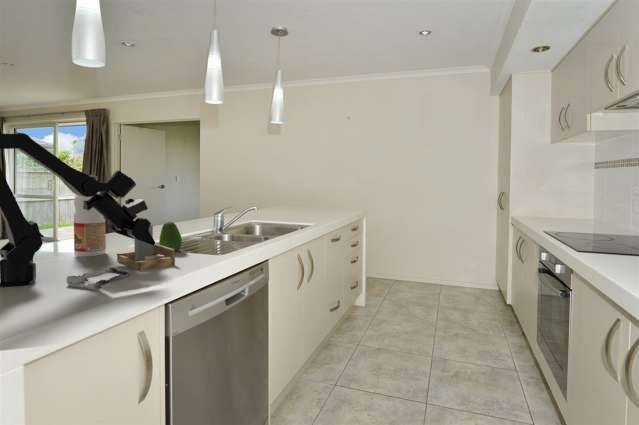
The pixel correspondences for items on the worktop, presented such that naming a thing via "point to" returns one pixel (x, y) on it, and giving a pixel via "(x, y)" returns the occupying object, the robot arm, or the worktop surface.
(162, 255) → the offcut
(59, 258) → the worktop surface
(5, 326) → the worktop surface
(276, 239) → the worktop surface
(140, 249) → the grey rectangular block
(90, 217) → the fruit juice
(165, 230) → the avocado
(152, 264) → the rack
